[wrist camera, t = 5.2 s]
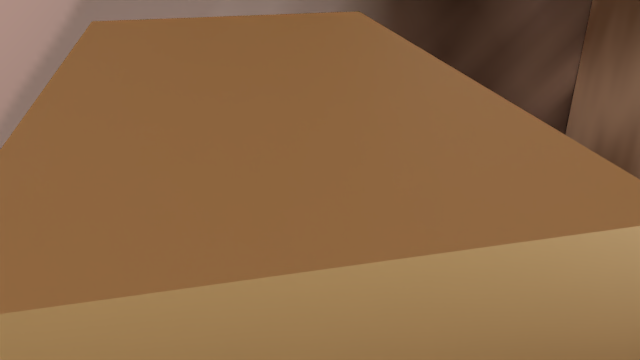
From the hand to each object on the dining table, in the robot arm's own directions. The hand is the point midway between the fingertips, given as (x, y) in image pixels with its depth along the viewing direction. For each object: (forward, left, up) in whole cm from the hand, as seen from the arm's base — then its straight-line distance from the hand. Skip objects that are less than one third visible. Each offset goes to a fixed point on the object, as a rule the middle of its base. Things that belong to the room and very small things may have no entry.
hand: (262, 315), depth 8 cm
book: (0, 0, -2) cm, 2 cm away
